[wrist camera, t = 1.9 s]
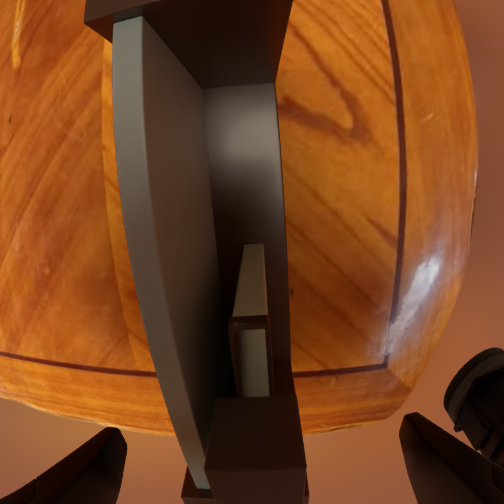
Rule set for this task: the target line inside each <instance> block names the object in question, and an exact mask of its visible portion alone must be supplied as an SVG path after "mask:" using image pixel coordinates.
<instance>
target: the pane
mask: <svg viewBox="0 0 504 504" xmlns="http://www.w3.org/2000/svg"><path fill="white" fill-rule="evenodd" d="M228 332H229V340H230V347H231V355H232V362H233V370H234V377H235V384H236V391H237V397H234V398H216V399H215V404H214V410H213V416H212V422H211V428H210V434H209V440H208V446H207V452H206V458H205V464H204V472H205V475H206V477H207V480H208V483H209V486H210V488H211V491H212V494H213V497H214V499H215V502H216V504H303V503H304V492H305V480H306V467H307V466H306V458H305V451H304V443H303V436H302V429H301V422H300V415H299V408H298V401H297V396H296V394H290V395H276V396H274V379H273V361H272V344H271V327H270V316H269V315H268V305H267V290H266V275H265V261H264V246H263V244H248V245H244V248H243V254H242V260H241V266H240V272H239V278H238V284H237V290H236V296H235V302H234V309H233V315H232V317H230V321H229V327H228Z"/></svg>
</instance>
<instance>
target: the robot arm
mask: <svg viewBox="0 0 504 504" xmlns="http://www.w3.org/2000/svg"><path fill="white" fill-rule="evenodd" d="M454 430H455V432H459V431H462V430H463V431H464V433H465V434H466V436H467V438H468V439H469V441H470V442H471V444H472V446H473V447H474V449H475V450H476V451H475V450H474V449H472V448H470V447H469V446H467V445H466V444H464V443H463V442H461V441H459V440H458V439H457V438H455V437H454V436H452V435H451V434H449V433H448V432H446V431H445V430H443V429H442V428H440V427H439V426H437V425H436V424H434V423H433V422H431V421H430V420H428V419H427V418H425V417H424V416H422V415H421V414H419V413H417V412H413V413H410V414H406V415H405V416H404V418H403V421H402V424H401V427H400V430H399V438H400V442H401V446H402V451H403V455H404V459H405V464H406V469H407V473H408V476H409V479H410V482H411V485H412V488H413V491H414V494H415V496H416V499H417V502H418V504H504V368H501V369H498V370H496V371H493V372H490V373H487V374H484V375H481V376H478V377H476V378H475V379H474V380H473V381H472V383H471V386H470V389H469V391H468V394H467V397H466V399H465V402H464V404H463V407H462V409H461V412H460V414H459V416H458V419H457V421H456V423H455V426H454ZM477 450H480V452H481V454H480V453H478V452H477ZM126 454H127V443H126V441H125V439H124V437H123V435H122V433H121V431H120V430H119V429H118V428H114V427H106V428H104V429H103V430H102V431H100V432H99V433H98V434H96V435H95V436H94V437H92V438H91V439H90V440H88V441H87V442H86V443H84V444H83V445H81V446H80V447H79V448H77V449H76V450H75V451H73V452H72V453H70V454H69V455H68V456H67V457H65V458H64V459H62V460H61V461H59V462H58V463H56V464H55V465H54V466H52V467H51V468H49V469H48V470H47V471H45V472H44V473H42V474H41V475H39V476H38V477H37V478H36V479H33V480H32V481H31V482H29V483H28V484H26V485H24V486H23V487H21V488H20V489H18V490H16V491H15V492H13V493H11V494H9V495H7V496H5V497H3V498H1V499H0V504H116V502H117V499H118V495H119V492H120V488H121V483H122V478H123V471H124V466H125V460H126Z"/></svg>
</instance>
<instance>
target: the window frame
mask: <svg viewBox="0 0 504 504" xmlns="http://www.w3.org/2000/svg"><path fill="white" fill-rule="evenodd" d="M292 3H293V0H86V5H85V14H84V24H85V25H87V26H88V27H90V28H91V29H93V30H94V31H95V32H97V33H98V34H100V35H101V36H102V37H104V38H105V39H107V40H108V41H109V42H111V43H112V44H113V48H112V92H113V119H114V136H115V150H116V161H117V172H118V181H119V190H120V198H121V206H122V214H123V221H124V227H125V234H126V240H127V246H128V252H129V258H130V263H131V269H132V274H133V279H134V284H135V289H136V294H137V298H138V303H139V307H140V312H141V316H142V320H143V325H144V329H145V333H146V337H147V341H148V345H149V348H150V352H151V356H152V360H153V363H154V367H155V370H156V374H157V377H158V381H159V384H160V387H161V391H162V394H163V397H164V400H165V403H166V406H167V409H168V413H169V416H170V419H171V421H172V424H173V427H174V430H175V433H176V436H177V438H178V441H179V444H180V447H181V449H182V452H183V455H184V457H185V460H186V462H187V469H186V474H185V479H184V484H183V488H182V494H181V498H182V500H183V502H184V504H216V502H215V499H214V497H213V494H212V491H211V488H210V486H209V483H208V480H207V477H206V475H205V472H204V464H205V458H206V452H207V446H208V440H209V434H210V428H211V422H212V416H213V410H214V404H215V399H216V398H234V397H237V391H236V384H235V377H234V370H233V362H232V355H231V347H230V340H229V332H228V327H229V321H230V317H232V315H233V309H234V302H235V296H236V290H237V284H238V278H239V272H240V266H241V260H242V254H243V248H244V245H248V244H263V246H264V261H265V275H266V290H267V305H268V315H269V316H270V327H271V344H272V361H273V379H274V396H276V395H290V394H296V393H295V386H294V379H293V373H292V366H291V341H290V308H289V282H288V259H287V239H286V221H285V204H284V189H283V174H282V160H281V146H280V134H279V121H278V110H277V99H276V88H275V80H276V76H277V71H278V66H279V62H280V57H281V53H282V48H283V43H284V39H285V34H286V30H287V25H288V21H289V16H290V12H291V7H292ZM308 503H309V488H308V480H307V473H306V480H305V492H304V503H303V504H308Z"/></svg>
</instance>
